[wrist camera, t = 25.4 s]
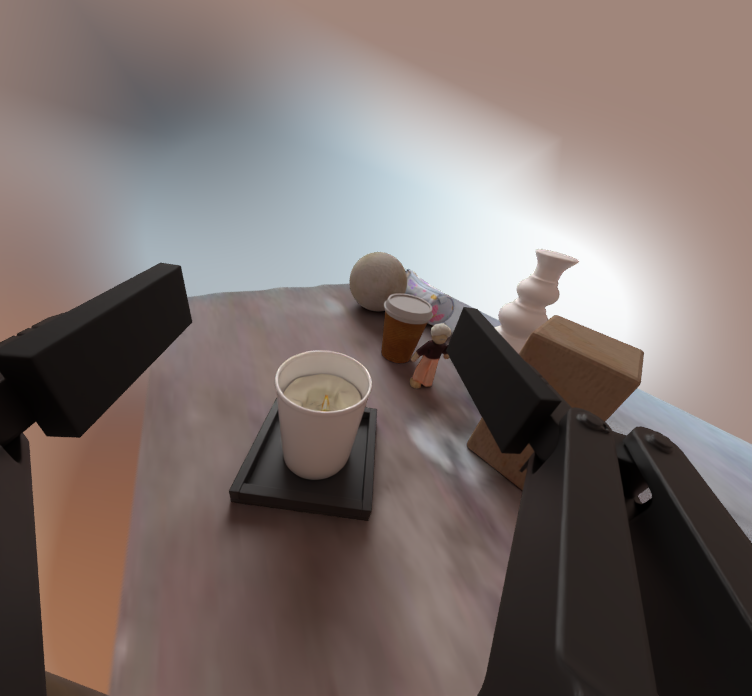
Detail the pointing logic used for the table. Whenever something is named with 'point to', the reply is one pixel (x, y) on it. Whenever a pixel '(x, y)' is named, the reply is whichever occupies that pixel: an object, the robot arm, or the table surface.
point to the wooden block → (569, 381)
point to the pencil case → (430, 298)
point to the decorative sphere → (377, 280)
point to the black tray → (288, 491)
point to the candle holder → (320, 410)
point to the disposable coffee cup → (403, 326)
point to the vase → (533, 298)
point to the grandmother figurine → (430, 356)
